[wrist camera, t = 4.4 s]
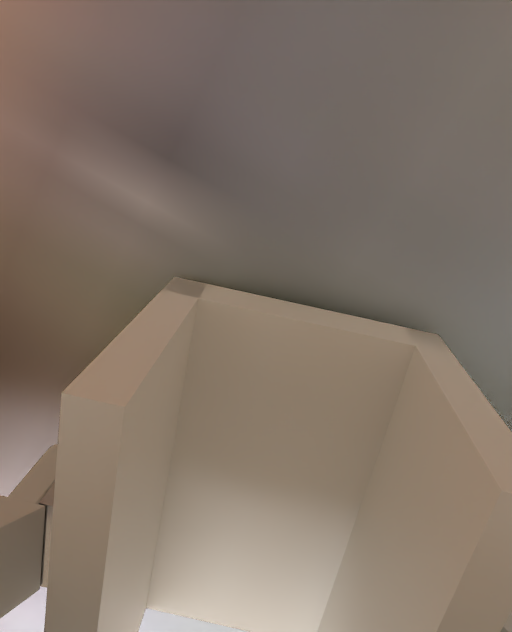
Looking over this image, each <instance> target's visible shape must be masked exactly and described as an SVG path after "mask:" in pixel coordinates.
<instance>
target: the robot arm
mask: <svg viewBox="0 0 512 632" xmlns="http://www.w3.org/2000/svg"><path fill="white" fill-rule="evenodd" d="M57 447H58V444H55V445H53V446H51V447H50V448H49V449H48V450H47V451H46V452H45V454H44V455H43V456H42V457H41V458H40V459H39V461H38V462H37V463H36V464H35V465H34V467H33V468H32V469H31V470H30V471H29V472H28V474H27V475H26V476H25V477H24V478H23V480H22V481H21V482H20V483H19V484H18V486H17V487H16V488H15V489H14V490H13V491H12V493H11V494H10V495H9V496H8V497H4V496H0V618H1V617H3V616H4V615H5V614H7V613H8V612H9V611H11V610H12V609H14V608H15V607H16V606H18V605H19V604H20V603H22V602H23V601H24V600H26V599H27V598H28V597H30V596H31V595H33V594H34V593H35V592H37V591H38V590H39V589H40V586H42V587H47V586H48V572H49V558H50V544H51V531H52V517H53V503H54V489H55V475H56V461H57ZM501 632H512V611H511V613H510V614H509V616H508V618H507V620H506V622H505V624H504V626H503V628H502V630H501Z"/></svg>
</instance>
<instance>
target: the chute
mask: <svg viewBox="0 0 512 632" xmlns="http://www.w3.org/2000/svg"><path fill="white" fill-rule="evenodd" d="M146 608H149V609H153V610H157V611H162V612H166V613H170V614H175V615H179V616H184V617H188V618H192V619H197V620H201V621H205V622H210V623H214V624H219V625H223V626H227V627H232V628H236V629H240V630H245V631H249V632H501V630H502V628H503V626H504V624H505V622H506V620H507V618H508V616H509V614H510V613H511V611H512V432H511V431H510V429H509V428H508V427H507V425H506V424H505V423H504V421H503V420H502V419H501V417H500V416H499V415H498V413H497V412H496V411H495V409H494V408H493V407H492V405H491V404H490V403H489V401H488V400H487V399H486V397H485V396H484V395H483V393H482V392H481V391H480V389H479V388H478V387H477V385H476V384H475V383H474V381H473V380H472V379H471V377H470V376H469V375H468V373H467V372H466V371H465V369H464V368H463V367H462V365H461V364H460V363H459V361H458V360H457V359H456V357H455V356H454V355H453V353H452V352H451V351H450V349H449V348H448V347H447V345H446V344H445V343H444V341H443V340H442V339H441V337H440V336H439V335H438V334H434V333H430V332H425V331H420V330H416V329H411V328H407V327H402V326H398V325H393V324H388V323H384V322H379V321H375V320H370V319H366V318H361V317H357V316H352V315H347V314H343V313H338V312H334V311H329V310H325V309H320V308H316V307H311V306H306V305H302V304H297V303H293V302H288V301H284V300H279V299H274V298H270V297H265V296H261V295H256V294H252V293H247V292H243V291H238V290H233V289H229V288H224V287H220V286H215V285H211V284H206V283H201V282H197V281H192V280H188V279H183V278H179V277H174V278H173V279H172V280H171V281H170V282H169V283H168V284H167V285H166V286H165V287H164V288H163V289H162V290H161V291H160V292H159V293H158V294H157V295H156V296H155V297H154V298H153V299H152V300H151V301H150V302H149V303H148V305H147V306H146V307H145V308H144V309H143V310H142V311H141V312H140V313H139V314H138V315H137V316H136V317H135V318H134V319H133V320H132V321H131V322H130V323H129V324H128V325H127V326H126V327H125V328H124V329H123V330H122V331H121V332H120V333H119V334H118V335H117V336H116V337H115V338H114V339H113V340H112V341H111V342H110V343H109V345H108V346H107V347H106V348H105V349H104V350H103V351H102V352H101V353H100V354H99V355H98V356H97V357H96V358H95V359H94V360H93V361H92V362H91V363H90V364H89V365H88V366H87V367H86V368H85V369H84V370H83V371H82V372H81V373H80V374H79V375H78V376H77V377H76V378H75V379H74V380H73V381H72V382H71V384H70V385H69V386H68V387H67V388H66V389H65V390H64V391H63V392H62V393H61V405H60V419H59V433H58V447H57V461H56V475H55V489H54V503H53V517H52V531H51V544H50V558H49V572H48V586H47V600H46V614H45V628H44V632H138V630H139V627H140V624H141V621H142V618H143V615H144V612H145V609H146Z"/></svg>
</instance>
